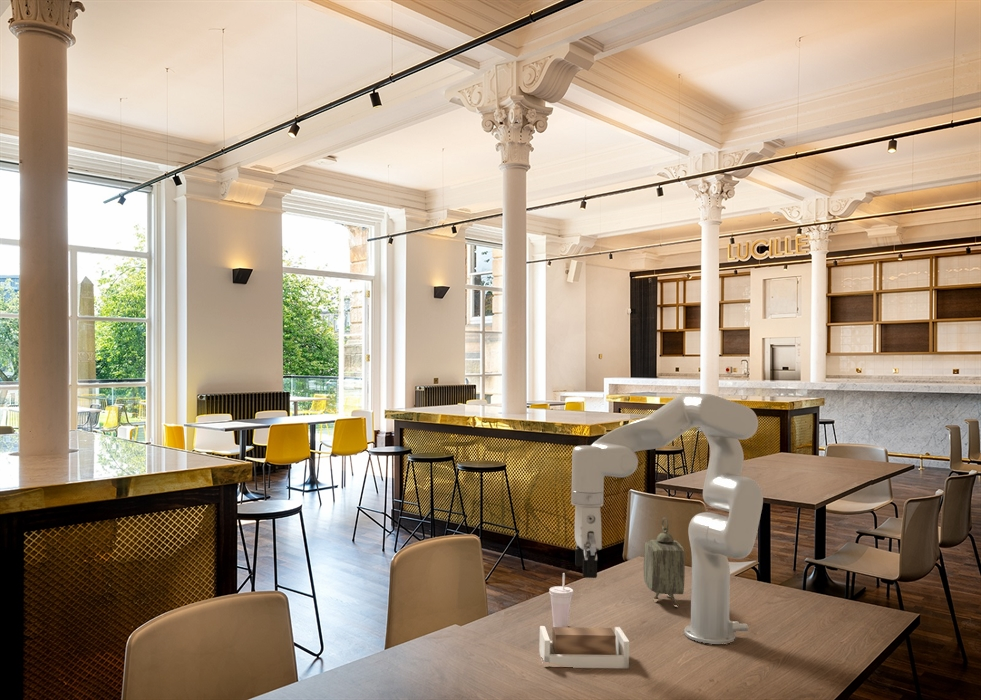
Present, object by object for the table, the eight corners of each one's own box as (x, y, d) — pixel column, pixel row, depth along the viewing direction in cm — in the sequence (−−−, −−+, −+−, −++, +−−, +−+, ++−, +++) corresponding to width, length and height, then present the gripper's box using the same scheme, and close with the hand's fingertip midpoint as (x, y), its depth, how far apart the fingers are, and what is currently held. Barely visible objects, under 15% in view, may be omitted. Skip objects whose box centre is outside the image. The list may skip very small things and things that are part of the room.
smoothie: (571, 631, 183) (572, 577, 183) (546, 629, 184) (548, 575, 185) (573, 623, 189) (574, 570, 189) (549, 621, 190) (551, 568, 191)
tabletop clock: (684, 610, 203) (685, 523, 204) (652, 609, 203) (654, 522, 204) (671, 595, 217) (673, 513, 218) (642, 594, 217) (644, 512, 218)
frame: (619, 652, 170) (619, 627, 170) (628, 668, 160) (629, 641, 161) (539, 651, 169) (539, 626, 169) (544, 667, 159) (544, 640, 160)
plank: (610, 647, 168) (611, 627, 168) (615, 655, 163) (615, 635, 163) (552, 646, 167) (552, 627, 167) (555, 654, 162) (555, 634, 162)
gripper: (611, 505, 158) (609, 582, 157) (595, 492, 175) (594, 562, 175) (578, 504, 158) (576, 582, 157) (565, 492, 175) (564, 561, 174)
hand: (585, 571), depth 166 cm, fingers open, 9 cm apart
